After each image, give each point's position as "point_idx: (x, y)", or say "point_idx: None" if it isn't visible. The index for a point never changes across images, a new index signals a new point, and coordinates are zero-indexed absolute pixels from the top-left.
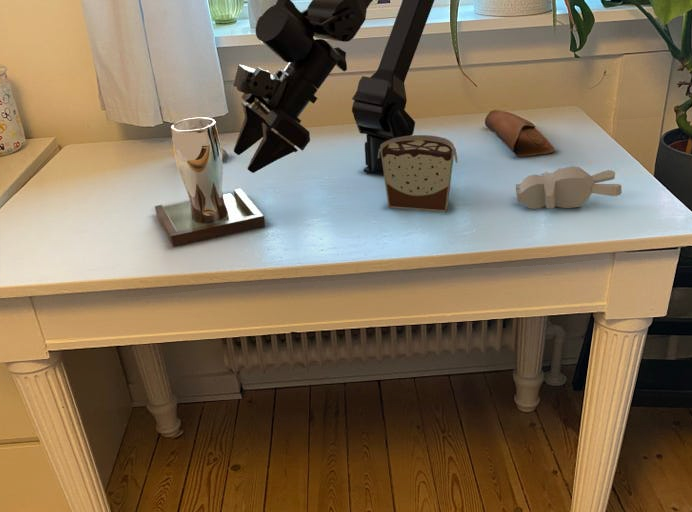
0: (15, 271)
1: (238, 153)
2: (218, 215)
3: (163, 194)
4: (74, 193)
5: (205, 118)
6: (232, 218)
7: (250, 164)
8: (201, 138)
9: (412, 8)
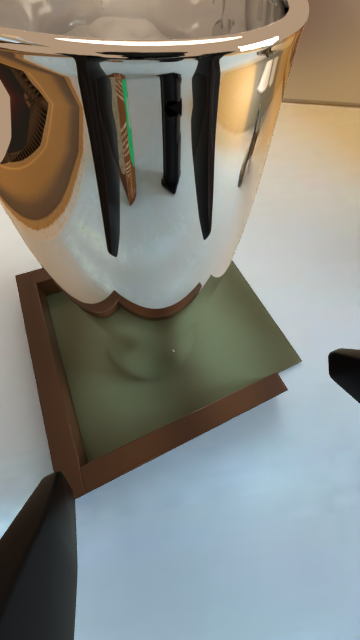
0: None
1: (334, 374)
2: (114, 357)
3: (287, 238)
4: (279, 142)
5: (288, 15)
6: (142, 390)
7: (24, 506)
8: None
9: None
